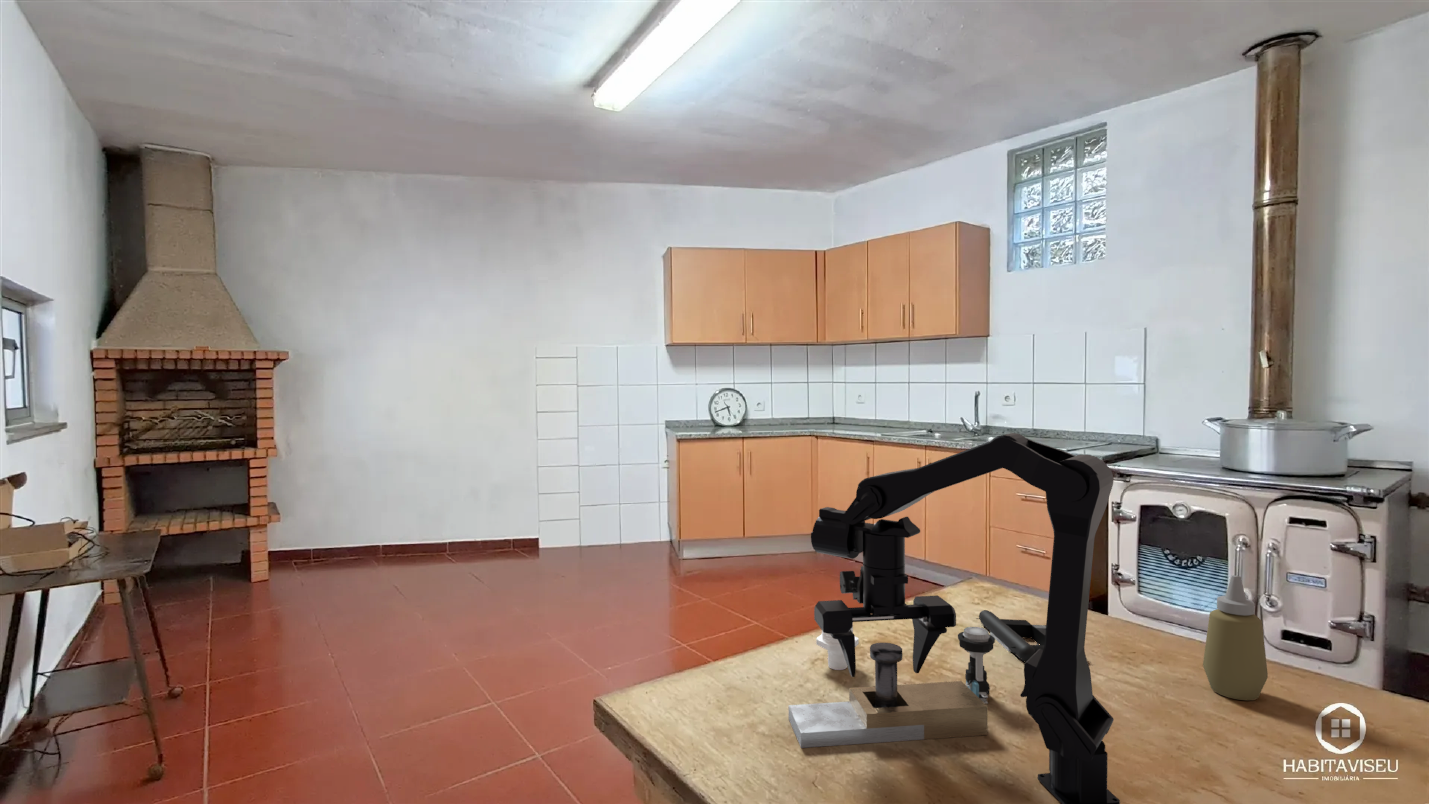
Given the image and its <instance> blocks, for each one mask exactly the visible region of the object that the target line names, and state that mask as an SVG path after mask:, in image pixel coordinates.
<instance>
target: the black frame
mask: <svg viewBox="0 0 1429 804" xmlns="http://www.w3.org/2000/svg"><path fill="white" fill-rule="evenodd" d="M975 619H976V620H979V621H980V623H981V624H982V625H983V627H985V629H986V630H987V631H988V630H989V631H988V632H989V635H991V636H993V637H994V638H995V641H997V642H998V643H999V644H1000V645H1001V646H1002V647H1003V648H1005V650H1006V651H1008V652H1009V653H1012V654H1013V655H1015V656H1016V657H1017V658H1018V659H1019V660H1021V661H1022V662H1024V663H1026V662H1027V661H1028V660H1029V659H1030V658H1031V657H1032V656H1033V655H1034V654H1035V653H1036V652H1037V651H1038V650H1039V649H1042V650H1043V649H1044V644H1045V633H1046V624H1031V623H1030V622H1029V621H1028V620H1026V619H1006V618H999V616H997V614H995V613H994V612H992V611H989V610H986V609H983V610H981V611H980V612H979V615H978V618H977V617H976V618H975ZM1025 639H1031V640H1032V641H1034V642H1035V641H1036V642H1037V643H1036V642H1035V644H1030V643H1029V642H1028V641H1027V640H1025ZM1039 644H1040V645H1039Z"/></svg>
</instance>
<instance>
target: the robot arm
mask: <svg viewBox="0 0 1429 804" xmlns="http://www.w3.org/2000/svg"><path fill="white" fill-rule="evenodd" d="M1002 469H1004V470H1007V471H1009V472H1010V473H1012V474H1013V475H1016V476H1017V477H1018V478H1020V480H1022V481H1024V482H1025V483H1027V484H1028V485H1030V486H1033V487H1034V488H1037V489H1038V490H1041V491H1043V492H1045V499H1046V509H1047V510H1046V511H1047V514H1048V517H1049V520H1050V523H1051V526H1052V530H1053V545H1052V552H1051V553H1052V555H1051V556H1052V557H1051V567H1050V577H1049V578H1050V580H1049V589H1048V590H1049V591H1048V599H1047V600H1048V601H1047V610H1046V611H1047V612H1046V621H1045V622H1046V623H1045V625H1046V633H1045V644H1044V649H1043V650H1042V649H1039V650H1038V651H1037V652H1036V653H1035V654H1034V655H1033V656H1032V657H1031V658H1030V659H1029V660H1028V661H1027V662H1024V664H1023V676H1024V677H1023V678H1024V686H1023V690H1022V691H1021V693H1020V697H1021V698H1025V707H1026V711H1027V714H1028V715H1029V716H1031V718H1032V720H1033V721H1034V722H1035V723H1036V724H1037V726H1038V728H1039V730H1040V734H1041V737H1042V740H1043V743H1044V745H1045V748H1046V749H1048V752H1049V753H1048V755H1049V756H1048V761H1049V763H1048V770H1049V772H1048V773H1047V772H1046V773H1038V774H1037V780H1038V781H1039V782H1040V783H1041V784H1042V785H1043V786H1044V787H1045V788H1046V789H1047V790H1048V791H1049V792H1050V794H1051V795H1053V796H1054V797H1055V798H1056V800H1058V802H1060V804H1121V800H1120V799H1119V798H1118V797H1117V796H1116V795H1115V794H1114V793H1112V792H1111V791H1110V790H1109V789H1108V752H1107V751H1106V743H1105V742H1104V741H1103V740H1104V738H1105V736H1106V735H1107V734H1108V733H1109V731H1110V729H1111V726H1112V725H1113V722H1114V717H1113V716H1112V715H1111V714H1110V713H1109V711H1108V710H1107V709H1106V708H1105V707H1104V706H1103V705H1102V704H1101V702H1100V701H1099V700H1098V699H1097V697H1095V696H1094V695H1093V693H1094V692H1093V684H1092V674H1091V669H1090V665H1089V661H1088V659H1087V655H1086V652H1085V650H1086V649H1085V643H1086V635H1087V634H1086V632H1087V622H1088V621H1087V620H1088V611H1089V600H1090V589H1091V579H1092V571H1093V570H1092V569H1093V560H1094V559H1093V558H1094V557H1093V556H1094V550H1095V549H1094V547H1095V539H1096V538H1095V537H1096V533H1097V530H1098V529H1099V525H1100V523H1101V521H1102V518H1103V516H1104V514H1105V510H1106V509H1107V505H1108V502H1109V499H1110V496H1111V492H1112V489H1113V485H1114V475H1113V472H1112V469H1111V467H1109V466H1108V465H1107V463H1105V461H1104V460H1102V459H1100V458H1098V456H1094V455H1091V454H1078V455H1074V454H1072V453H1070V452H1067V451H1064V450H1062V449H1060V448H1056V447H1053V446H1051V445H1046V444H1043V443H1040V442H1037V441H1035V440H1032V439H1029V438H1028V437H1025V436H1024V435H1022V434H1020V433H1018V432H1017V433H1016V432H1010V433H1006V434H1002V435H997V436H996V437H994V438H993V439H991V440H989V441H988V442H985V443H981V444H979V445H976V446H974V447H971V448H968V449H966V450H963V451H960V452H958V453H955V454H951V455H950V456H946V457H943V458H942V459H941V458H940V459H938V460H936V461H933V462H931V463H928V464H925V465H923V466H920V467H917V468H910V469H902V470H896V471H895V470H894V471H891V472H885V473H881V474H878V475H873V476H869V477H866V478H864V479H862V480H861V481H860V482H859V483H858V484H857V489H856V494H855V498H854V499H853V500H852V502H851V503H850V505H849V506H848V507H847V509H846V510H844V509H843V510H842V509H838V508H835V507H829V506H826V507H823V508H820V509H819V510H818V517H817V519H815V522H814V524H813V526H812V531H811V532H810V544H811V546H812V549H813V550H814V551H815V552H816V553H819V554H824V555H829V556H833V557H840V558H846V559H850V560H854V559H856V558H857V557H858V556H859V554H861V553H862V565H861V566H860V569H859V570H860V572H859V576H856V573H855V571H854V570H843V571H839V589H840V593H841V594H852V600H856V601H857V603H858V604H860V605H861V604H862V606H859V607H858V606H856V607H849V606H847V604H846V603H845V602H844V601H843V599H837V600H834V599H833V600H819V601H817V602H816V604H815V606H814V608H813V609H814V611H813V612H814V613H813V615H814V617H813V618H814V621H815V622H816V624H817V625H818V626H819V628H820V629H821V632H822V631H823V632H824V633H828V634H830V635H831V636H832V638H834V639H838V641H839V644H840V646H841V649H842V652H843V655H844V658H845V661H846V664H847V669H848V673H849V675H850V677H851V678H855V677H856V670H857V666H856V665H857V664H856V663H857V661H856V660H857V659H856V647H855V637H856V635H855V633H854V631H853V632H852V631H851V630H850V629H851V628H852V627H853V628H854V625H853V624H854V623H857V622H858V623H861V622H876V621H877V622H878V621H879V622H880V621H895V620H896V621H897V620H898V621H899V620H912V627H913V645H912V646H913V648H912V650H913V651H912V669H913V672H914V673H915V674H919V673H920V671H921V669H922V667H923V665H924V664H925V662H926V660H927V658H928V655H929V654H930V652H931V650H932V648H933V646H934V645H935V644H936V642H937V641H938V639H939V637H940V636H941V635H942V634H947V632H948V629H947V628H955V627H956V626H957V613H956V610H955V608H954V607H953V606H952V605H951V604H950V603H949V602H947V601H946V600H945V599H943V598H942V597H941V596H939V595H917V596H915V597H914V599H913V600H912V602H913V604H906V584H909V576H908V575H907V574H906V554H905V553H906V541H905V540H906V538H907V539H909V538H911V537H913V536H917V535H919V534H920V533H921V528H919V527H918V526H917V525H916V524H915V523H913V522H912V521H911V519H910V517H909V516H907V515H906V516H904V517H901V518H899V519H898V520H890V519H884V518H885V517H889V516H891V515H895V514H898V513H901V512H903V511H905V510H906V509H908V508H910V507H911V506H913V505H915V504H917V503H918V502H921V501H922V500H923V499H925V498H926V497H927V496H929V495H931V494H933V493H934V492H937V491H940V490H943V489H946V488H949V487H952V486H955V485H957V484H960V483H964V482H965V481H966V482H967V481H969V480H972V479H975V478H978V477H981V476H984V475H986V474H990V473H992V472H995V471H998V470H1002ZM871 519H873V520H877V521H876V522H875V523H872V522H871V523H870V522H866V521H868V520H871Z"/></svg>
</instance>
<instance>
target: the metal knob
mask: <svg viewBox="0 0 1429 804" xmlns="http://www.w3.org/2000/svg"><path fill="white" fill-rule="evenodd" d="M869 656H870V659H872V660H873V661H874V665H875V667H874V669H875V671H874V672H875V673H874V678H875V682H874V684H875V708H884V707H897V685H898V663H900V662H902V660H903V648H902V647H901V646H900V645H898V644H895V643H892V642H876V643H872V644H871V645H870V646H869Z"/></svg>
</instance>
